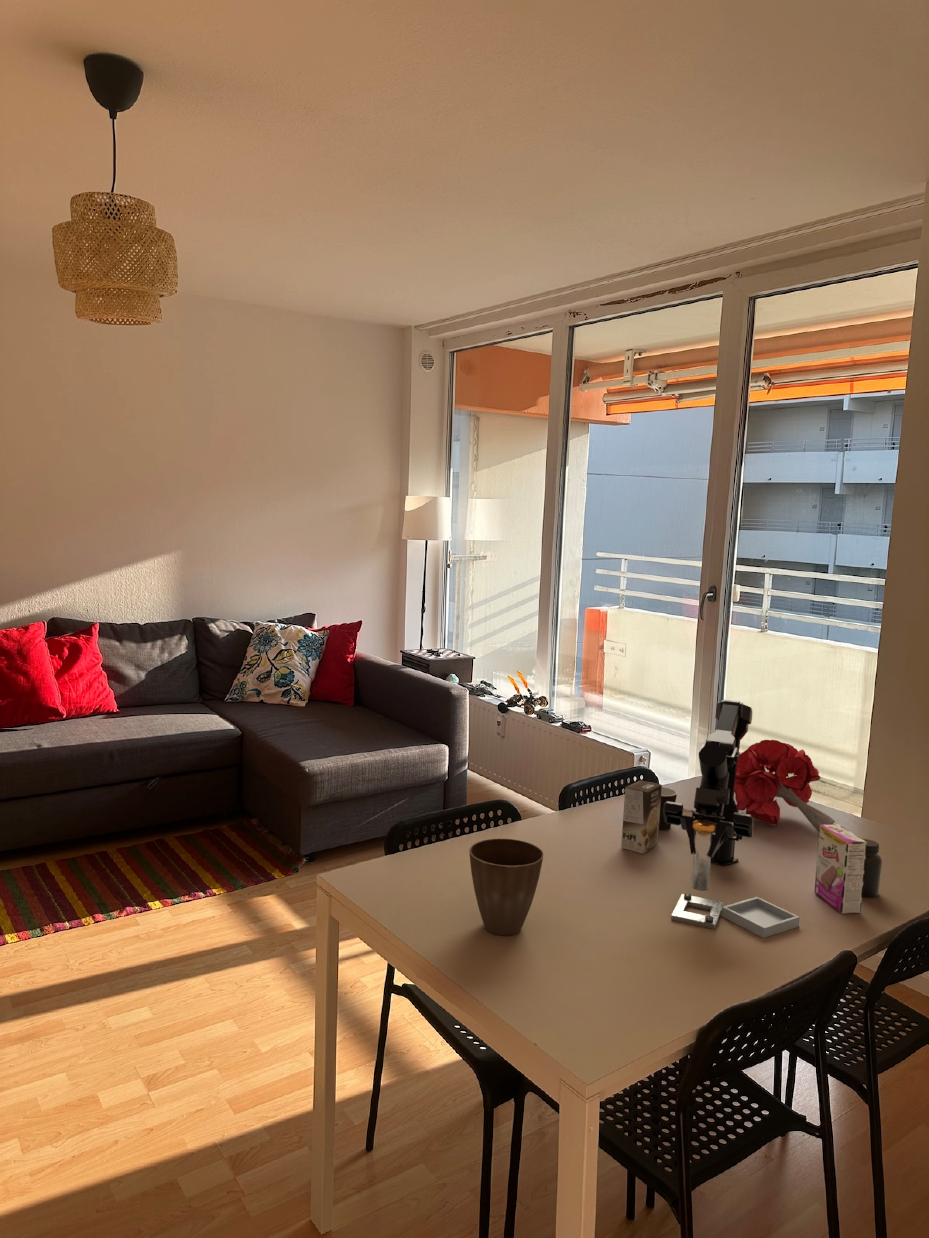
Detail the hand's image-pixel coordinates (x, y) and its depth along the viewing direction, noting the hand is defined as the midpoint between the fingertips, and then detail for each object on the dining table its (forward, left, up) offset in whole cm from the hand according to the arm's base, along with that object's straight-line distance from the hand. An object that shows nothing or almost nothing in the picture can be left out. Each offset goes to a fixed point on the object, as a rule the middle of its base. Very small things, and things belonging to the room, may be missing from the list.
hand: (701, 855), depth 187 cm
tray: (-10, +8, -13) cm, 19 cm away
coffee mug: (-33, -46, -14) cm, 58 cm away
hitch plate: (-1, -1, -13) cm, 13 cm away
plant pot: (+40, -15, -14) cm, 45 cm away
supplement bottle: (-44, +9, -14) cm, 47 cm away
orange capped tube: (-1, -1, -8) cm, 8 cm away
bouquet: (-65, -31, -14) cm, 74 cm away
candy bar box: (-33, +10, -14) cm, 37 cm away
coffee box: (-17, -36, -14) cm, 42 cm away
